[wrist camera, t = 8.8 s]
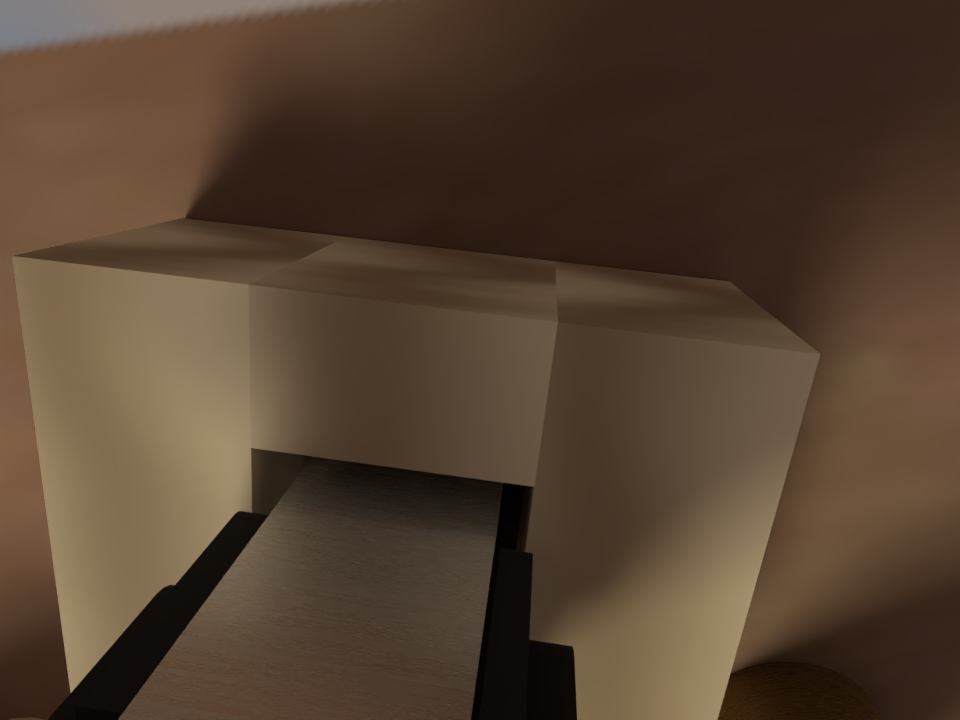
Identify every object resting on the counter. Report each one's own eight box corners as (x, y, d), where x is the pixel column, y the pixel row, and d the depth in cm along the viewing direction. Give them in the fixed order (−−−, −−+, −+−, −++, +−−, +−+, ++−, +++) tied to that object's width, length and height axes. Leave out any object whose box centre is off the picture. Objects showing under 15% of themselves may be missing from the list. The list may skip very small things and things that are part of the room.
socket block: (729, 281, 14) (821, 354, 9) (644, 656, 17) (680, 851, 13) (183, 218, 15) (12, 255, 10) (201, 589, 18) (77, 749, 13)
